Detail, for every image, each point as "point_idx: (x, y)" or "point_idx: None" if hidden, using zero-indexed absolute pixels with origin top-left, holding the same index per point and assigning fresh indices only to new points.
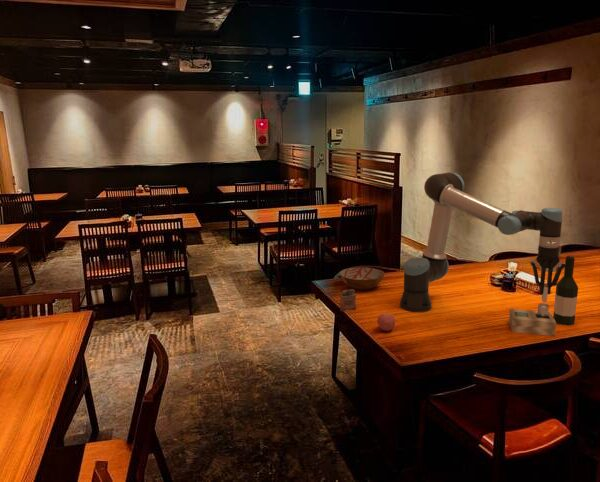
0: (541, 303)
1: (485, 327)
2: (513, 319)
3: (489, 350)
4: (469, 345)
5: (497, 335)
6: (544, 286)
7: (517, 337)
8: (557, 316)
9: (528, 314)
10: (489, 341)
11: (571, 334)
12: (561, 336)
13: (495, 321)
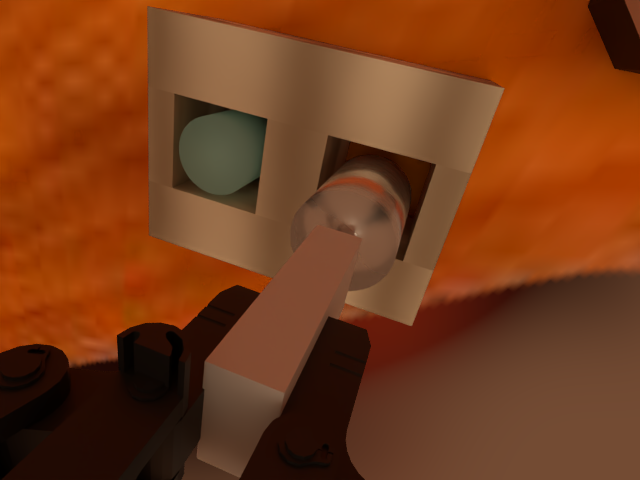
0: (339, 196)
1: (83, 132)
2: (154, 233)
3: (101, 359)
4: (40, 315)
5: (133, 238)
6: (213, 433)
7: (216, 267)
8: (623, 20)
9: (267, 157)
10: (101, 293)
11: (554, 257)
12: (461, 278)
13: (135, 21)
